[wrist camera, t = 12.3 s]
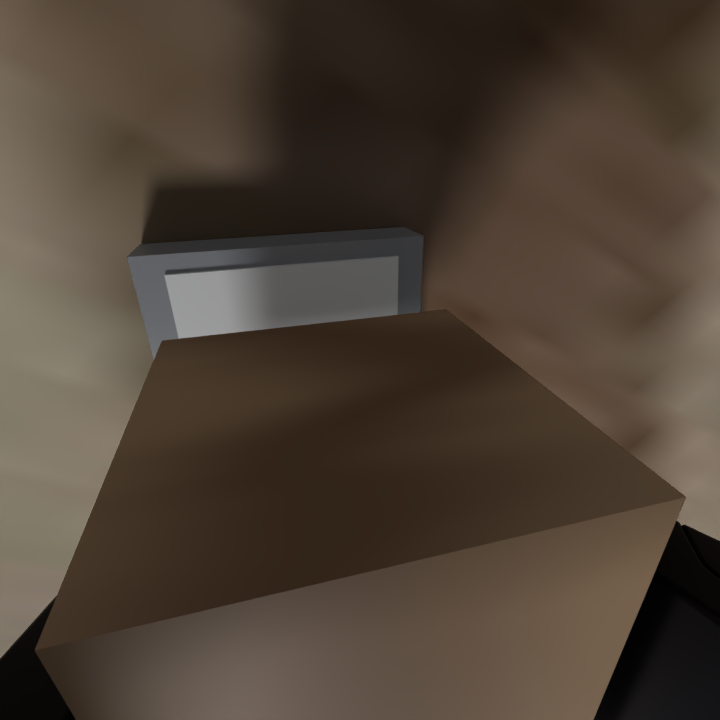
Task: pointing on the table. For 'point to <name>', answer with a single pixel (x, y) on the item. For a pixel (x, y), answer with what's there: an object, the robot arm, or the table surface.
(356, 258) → the baseplate
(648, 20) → the table surface
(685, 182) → the table surface
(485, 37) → the table surface
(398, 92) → the table surface
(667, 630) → the robot arm
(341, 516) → the walnut block
